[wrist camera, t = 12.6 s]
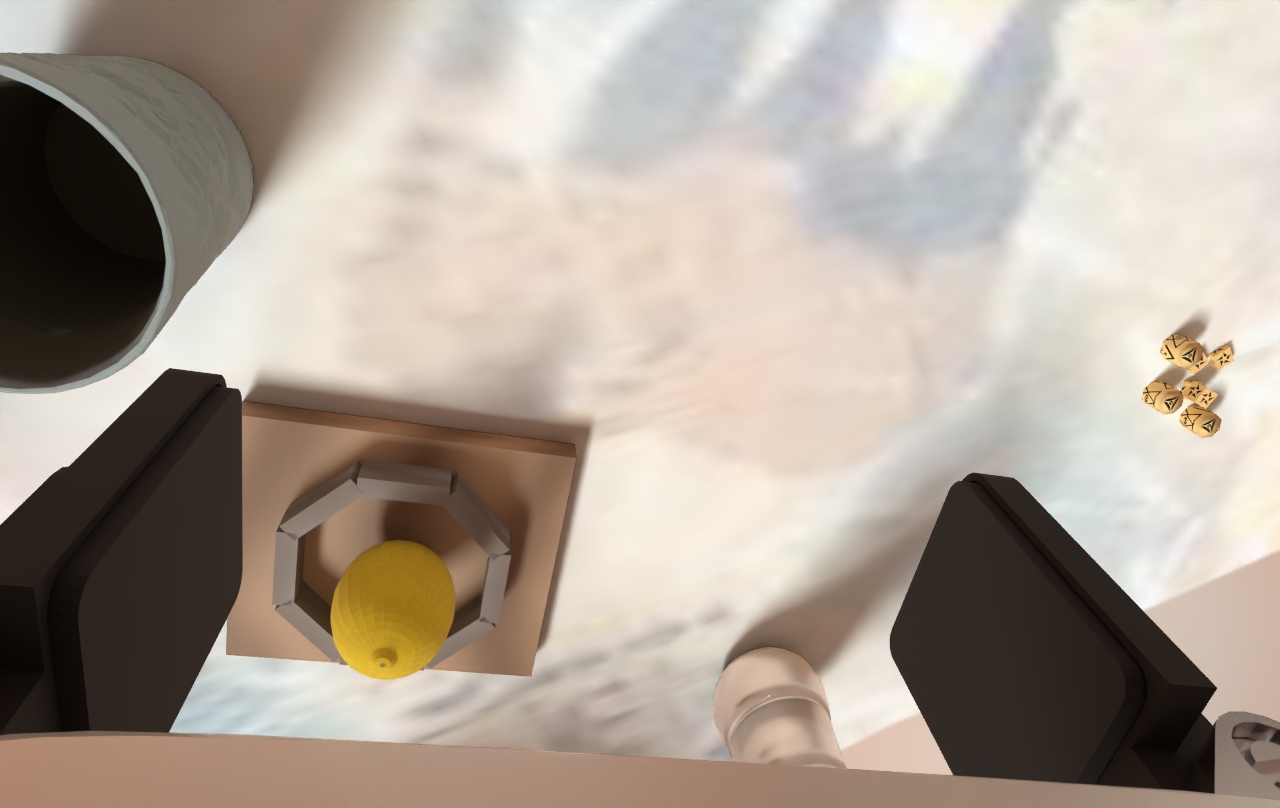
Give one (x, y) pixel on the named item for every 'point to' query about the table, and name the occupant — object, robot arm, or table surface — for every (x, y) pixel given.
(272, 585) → the holder
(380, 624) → the lemon
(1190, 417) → the dice set
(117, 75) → the grey cup
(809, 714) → the plastic bottle
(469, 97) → the table surface
